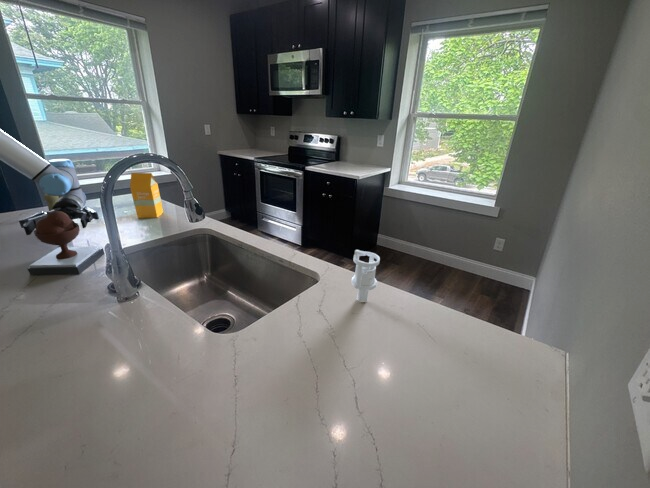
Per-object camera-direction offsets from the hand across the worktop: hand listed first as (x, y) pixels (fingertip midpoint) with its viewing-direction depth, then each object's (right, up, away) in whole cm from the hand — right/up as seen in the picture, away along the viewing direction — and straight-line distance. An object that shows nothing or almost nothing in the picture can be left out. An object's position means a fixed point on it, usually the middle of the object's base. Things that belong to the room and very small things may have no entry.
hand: (55, 227), depth 92 cm
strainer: (+95, -21, -7) cm, 97 cm away
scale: (0, -12, +6) cm, 13 cm away
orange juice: (+1, +9, +50) cm, 50 cm away
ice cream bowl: (0, -9, +4) cm, 10 cm away
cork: (-38, +7, +43) cm, 58 cm away
